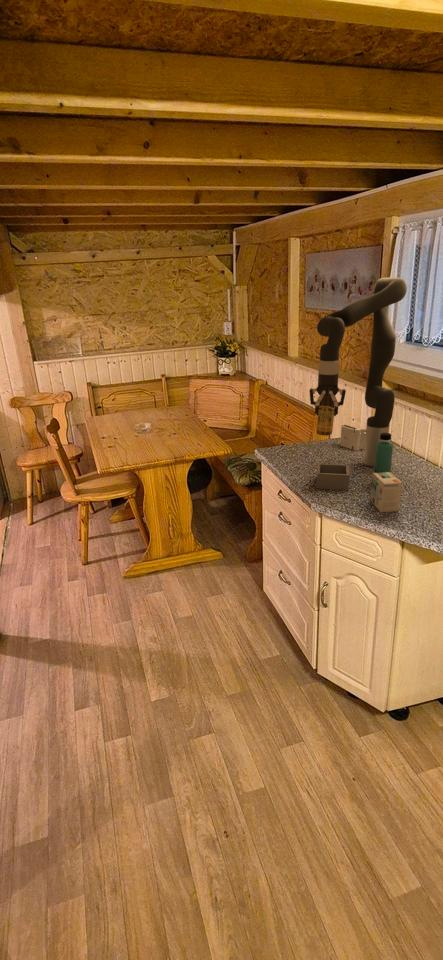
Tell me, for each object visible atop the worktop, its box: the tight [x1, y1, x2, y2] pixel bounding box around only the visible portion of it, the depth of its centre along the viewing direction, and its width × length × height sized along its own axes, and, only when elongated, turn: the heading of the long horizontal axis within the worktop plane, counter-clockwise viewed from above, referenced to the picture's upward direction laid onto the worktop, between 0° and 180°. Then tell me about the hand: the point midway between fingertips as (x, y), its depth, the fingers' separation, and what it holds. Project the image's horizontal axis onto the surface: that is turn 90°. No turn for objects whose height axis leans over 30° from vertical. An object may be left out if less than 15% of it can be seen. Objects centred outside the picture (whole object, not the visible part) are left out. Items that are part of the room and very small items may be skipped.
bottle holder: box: [316, 463, 350, 491], centre depth 201 cm, size 12×12×6 cm
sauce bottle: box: [316, 386, 335, 437], centre depth 199 cm, size 6×6×20 cm
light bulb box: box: [369, 471, 403, 513], centre depth 179 cm, size 11×7×11 cm, turn 5°
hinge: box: [339, 424, 366, 451], centre depth 241 cm, size 14×5×10 cm, turn 44°
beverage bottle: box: [373, 432, 394, 473], centre depth 198 cm, size 6×7×20 cm
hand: (326, 415), depth 200 cm, fingers closed on sauce bottle, 6 cm apart
